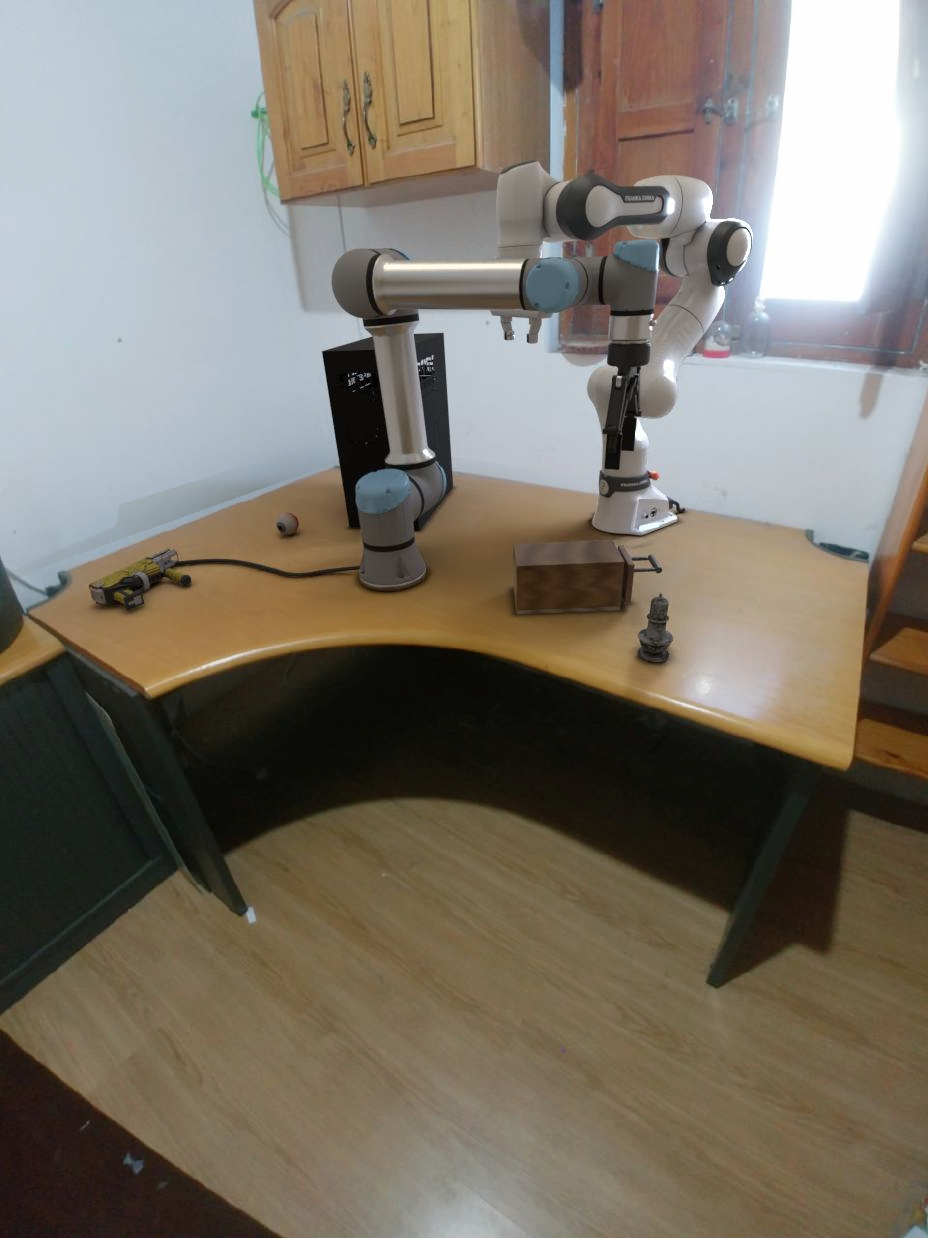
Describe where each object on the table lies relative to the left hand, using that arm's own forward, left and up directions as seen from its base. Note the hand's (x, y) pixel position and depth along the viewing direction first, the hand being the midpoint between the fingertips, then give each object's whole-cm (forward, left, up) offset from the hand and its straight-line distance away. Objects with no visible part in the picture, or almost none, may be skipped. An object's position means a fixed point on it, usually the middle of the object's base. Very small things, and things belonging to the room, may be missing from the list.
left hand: (619, 459), depth 119 cm
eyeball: (-88, +4, -26) cm, 92 cm away
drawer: (-2, -10, -25) cm, 27 cm away
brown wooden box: (-7, -12, -26) cm, 30 cm away
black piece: (-66, +33, -26) cm, 78 cm away
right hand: (-23, +10, +20) cm, 33 cm away
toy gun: (-99, -32, -26) cm, 107 cm away
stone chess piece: (+12, -27, -26) cm, 40 cm away
